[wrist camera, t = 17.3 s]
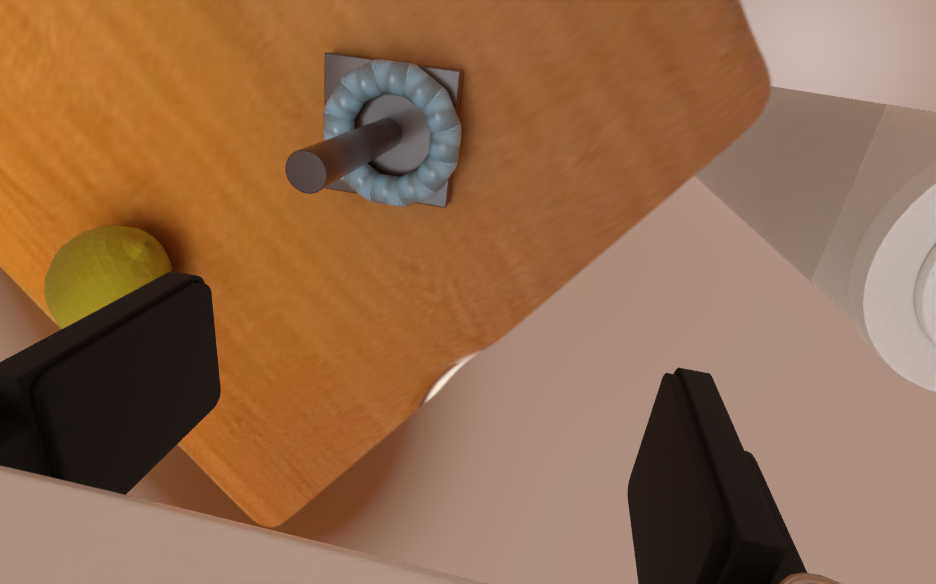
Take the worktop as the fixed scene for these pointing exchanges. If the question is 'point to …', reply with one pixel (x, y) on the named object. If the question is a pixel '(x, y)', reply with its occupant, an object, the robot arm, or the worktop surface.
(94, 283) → the lemon
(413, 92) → the ring
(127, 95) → the worktop surface
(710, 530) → the robot arm
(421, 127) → the peg stand
